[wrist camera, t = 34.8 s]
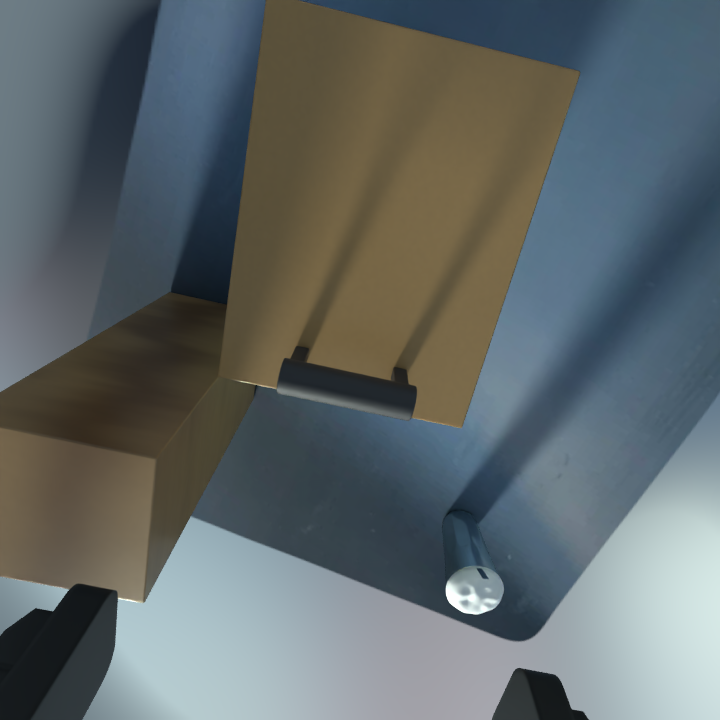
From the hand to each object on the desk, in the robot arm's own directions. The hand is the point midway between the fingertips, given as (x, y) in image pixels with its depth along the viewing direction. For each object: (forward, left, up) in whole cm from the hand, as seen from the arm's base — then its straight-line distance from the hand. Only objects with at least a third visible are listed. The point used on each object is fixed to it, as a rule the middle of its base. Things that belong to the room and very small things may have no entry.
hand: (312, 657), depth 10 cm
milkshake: (+14, -19, -32) cm, 40 cm away
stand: (-11, -7, -32) cm, 35 cm away
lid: (0, +6, -17) cm, 18 cm away
